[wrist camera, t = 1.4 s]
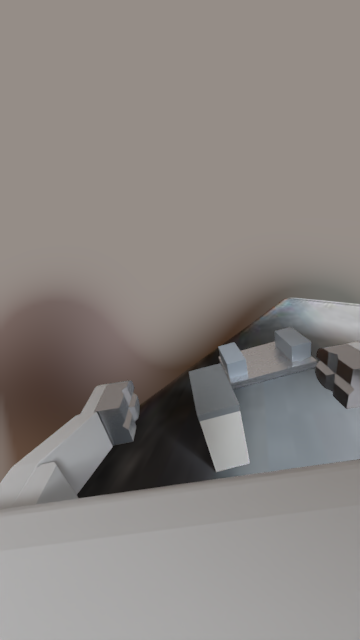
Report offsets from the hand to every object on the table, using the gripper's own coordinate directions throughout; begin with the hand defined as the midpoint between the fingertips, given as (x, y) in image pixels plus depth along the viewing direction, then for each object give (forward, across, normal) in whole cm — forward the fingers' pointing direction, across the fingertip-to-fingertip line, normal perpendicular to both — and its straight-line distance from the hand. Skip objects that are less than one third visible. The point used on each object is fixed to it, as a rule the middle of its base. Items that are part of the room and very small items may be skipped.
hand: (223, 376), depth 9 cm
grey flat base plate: (+26, -12, +20) cm, 35 cm away
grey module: (+13, -1, +22) cm, 25 cm away
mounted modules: (+26, -12, +19) cm, 34 cm away
